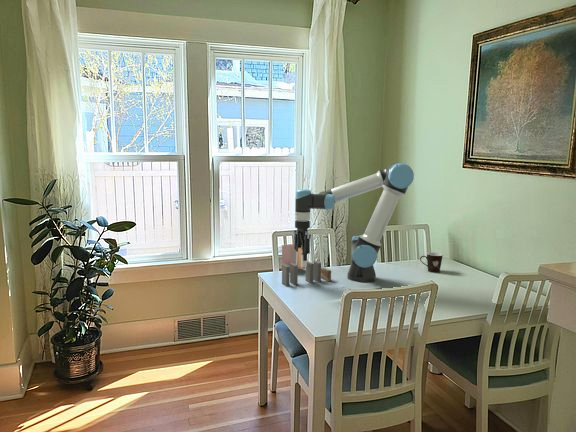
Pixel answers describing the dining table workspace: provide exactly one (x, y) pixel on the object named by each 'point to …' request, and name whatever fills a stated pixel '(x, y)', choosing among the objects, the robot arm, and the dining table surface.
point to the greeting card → (289, 255)
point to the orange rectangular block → (300, 258)
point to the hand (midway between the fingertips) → (301, 265)
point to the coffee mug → (433, 262)
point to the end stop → (326, 274)
